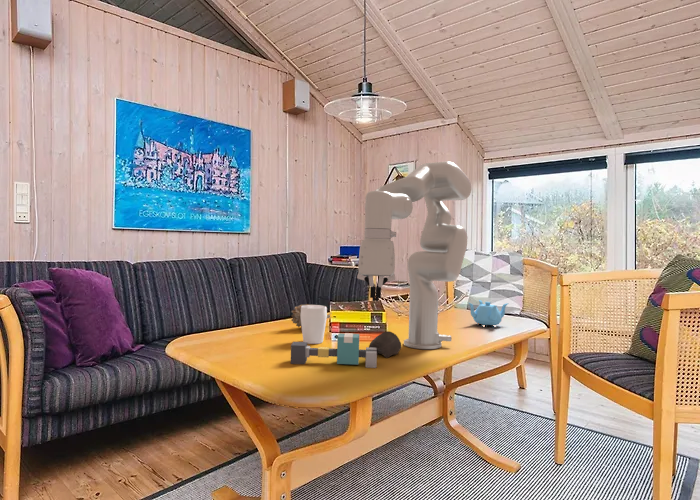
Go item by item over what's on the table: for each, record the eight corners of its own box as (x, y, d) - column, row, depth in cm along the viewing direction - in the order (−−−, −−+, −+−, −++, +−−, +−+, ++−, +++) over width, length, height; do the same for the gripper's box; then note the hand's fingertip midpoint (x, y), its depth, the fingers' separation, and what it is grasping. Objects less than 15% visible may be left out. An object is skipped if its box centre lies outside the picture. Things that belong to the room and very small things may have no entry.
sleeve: (358, 359, 136) (359, 333, 135) (358, 364, 131) (359, 337, 130) (338, 359, 136) (338, 332, 136) (336, 363, 131) (337, 336, 131)
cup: (322, 345, 154) (323, 309, 154) (296, 343, 156) (297, 307, 156) (329, 339, 163) (330, 305, 163) (304, 338, 165) (305, 304, 165)
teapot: (466, 325, 197) (466, 301, 197) (479, 321, 207) (480, 298, 207) (495, 330, 189) (496, 305, 189) (508, 325, 199) (508, 301, 199)
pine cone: (301, 333, 173) (301, 306, 172) (285, 329, 179) (285, 303, 179) (343, 326, 188) (344, 301, 188) (327, 323, 195) (328, 299, 195)
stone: (368, 368, 143) (386, 350, 137) (360, 344, 148) (377, 326, 142) (393, 369, 148) (411, 352, 142) (384, 345, 153) (401, 328, 148)
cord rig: (376, 361, 136) (376, 343, 136) (376, 367, 130) (376, 349, 129) (293, 358, 137) (294, 340, 137) (289, 364, 130) (290, 346, 130)
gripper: (403, 236, 135) (401, 300, 136) (351, 234, 136) (349, 298, 136) (405, 236, 128) (402, 303, 128) (350, 234, 128) (348, 301, 129)
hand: (375, 300), depth 132 cm, fingers closed
